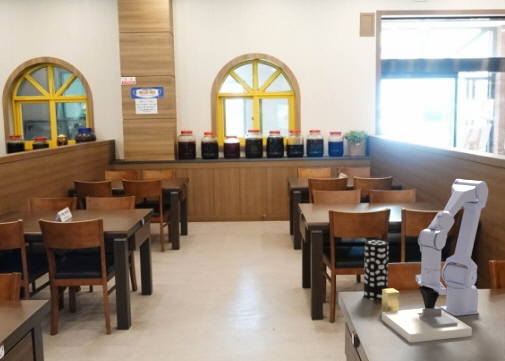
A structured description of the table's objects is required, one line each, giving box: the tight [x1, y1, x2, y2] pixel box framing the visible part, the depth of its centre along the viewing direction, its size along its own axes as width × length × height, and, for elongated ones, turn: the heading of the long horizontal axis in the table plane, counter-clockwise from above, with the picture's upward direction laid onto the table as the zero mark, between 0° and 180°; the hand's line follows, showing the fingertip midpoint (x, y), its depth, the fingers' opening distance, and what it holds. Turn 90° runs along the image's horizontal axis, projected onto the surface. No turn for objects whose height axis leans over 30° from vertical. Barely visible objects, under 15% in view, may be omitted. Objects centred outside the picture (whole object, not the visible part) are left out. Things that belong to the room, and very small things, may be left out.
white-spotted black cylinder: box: [363, 239, 390, 301], centre depth 193 cm, size 8×8×20 cm
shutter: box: [419, 306, 458, 328], centre depth 163 cm, size 8×8×3 cm
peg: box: [381, 287, 400, 313], centre depth 176 cm, size 4×4×8 cm
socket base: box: [381, 306, 473, 343], centre depth 165 cm, size 20×18×2 cm
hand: (429, 310), depth 168 cm, fingers closed
